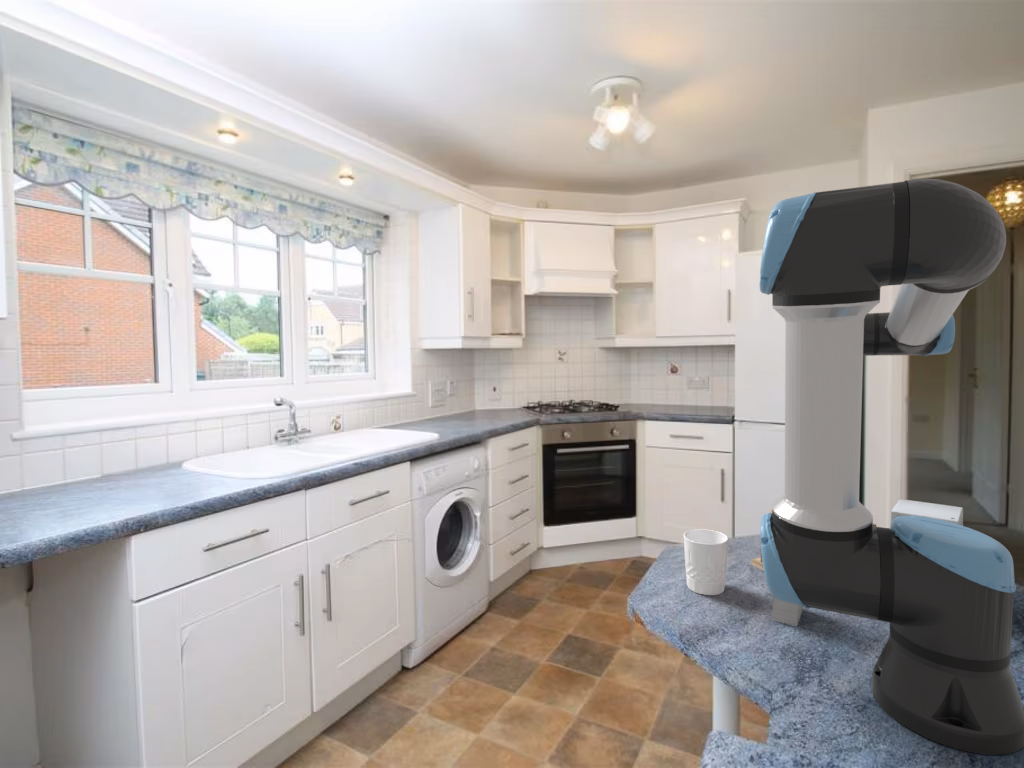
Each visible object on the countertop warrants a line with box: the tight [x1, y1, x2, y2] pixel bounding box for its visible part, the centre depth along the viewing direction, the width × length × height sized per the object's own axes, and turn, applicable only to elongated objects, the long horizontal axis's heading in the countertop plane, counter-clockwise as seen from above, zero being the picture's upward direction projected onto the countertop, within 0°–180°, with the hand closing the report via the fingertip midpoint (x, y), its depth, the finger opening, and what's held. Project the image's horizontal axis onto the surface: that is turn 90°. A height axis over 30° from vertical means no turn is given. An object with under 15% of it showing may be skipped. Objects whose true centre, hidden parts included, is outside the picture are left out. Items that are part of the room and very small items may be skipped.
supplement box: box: [889, 498, 964, 528], centre depth 93 cm, size 10×9×17 cm
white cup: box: [683, 528, 729, 596], centre depth 102 cm, size 8×8×10 cm
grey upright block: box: [771, 595, 804, 627], centre depth 91 cm, size 4×7×10 cm, turn 145°
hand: (821, 500), depth 110 cm, fingers closed
